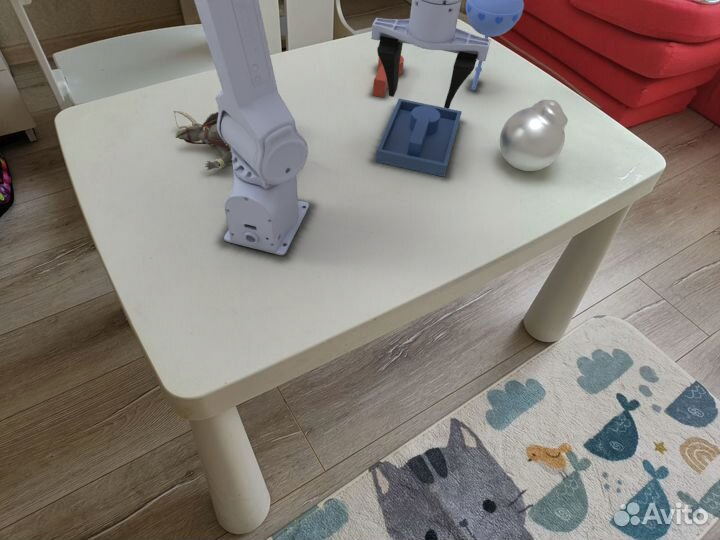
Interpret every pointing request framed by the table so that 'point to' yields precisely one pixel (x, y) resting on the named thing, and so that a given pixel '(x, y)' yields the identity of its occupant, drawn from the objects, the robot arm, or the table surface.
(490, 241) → the table surface
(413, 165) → the blue tray
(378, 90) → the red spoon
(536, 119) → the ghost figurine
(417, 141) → the blue spoon
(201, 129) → the figurine
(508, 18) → the baby rattle
